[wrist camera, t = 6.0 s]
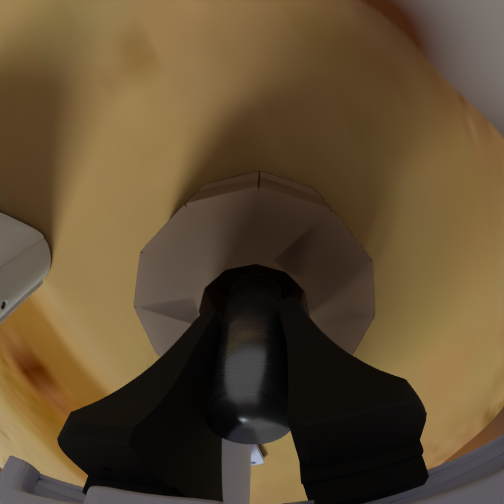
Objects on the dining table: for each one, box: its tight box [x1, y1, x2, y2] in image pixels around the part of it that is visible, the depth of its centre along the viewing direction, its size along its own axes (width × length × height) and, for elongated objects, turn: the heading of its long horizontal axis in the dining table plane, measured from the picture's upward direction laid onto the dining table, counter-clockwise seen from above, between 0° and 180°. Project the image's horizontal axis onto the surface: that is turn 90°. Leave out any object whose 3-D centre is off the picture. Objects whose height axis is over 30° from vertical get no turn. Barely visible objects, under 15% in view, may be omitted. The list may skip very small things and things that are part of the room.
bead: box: [134, 171, 375, 357], centre depth 14 cm, size 10×10×4 cm
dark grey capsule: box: [206, 272, 290, 445], centre depth 11 cm, size 2×2×7 cm
